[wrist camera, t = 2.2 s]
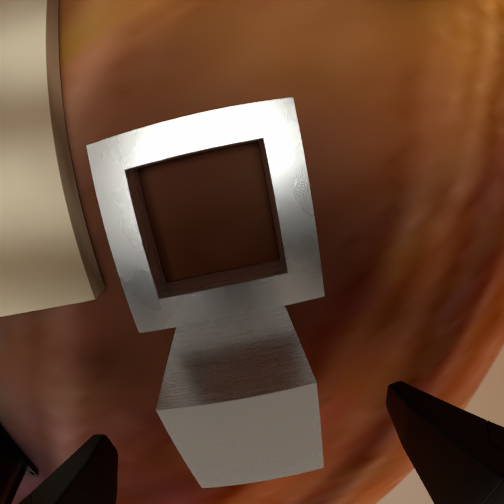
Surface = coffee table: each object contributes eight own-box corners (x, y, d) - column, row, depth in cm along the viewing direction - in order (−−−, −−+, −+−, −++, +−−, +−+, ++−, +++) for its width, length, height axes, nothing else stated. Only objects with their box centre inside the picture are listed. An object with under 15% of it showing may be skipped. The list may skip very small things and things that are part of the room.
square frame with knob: (103, 147, 11) (9, 140, 5) (283, 105, 11) (339, 55, 5) (175, 386, 14) (159, 489, 8) (322, 358, 14) (367, 454, 8)
